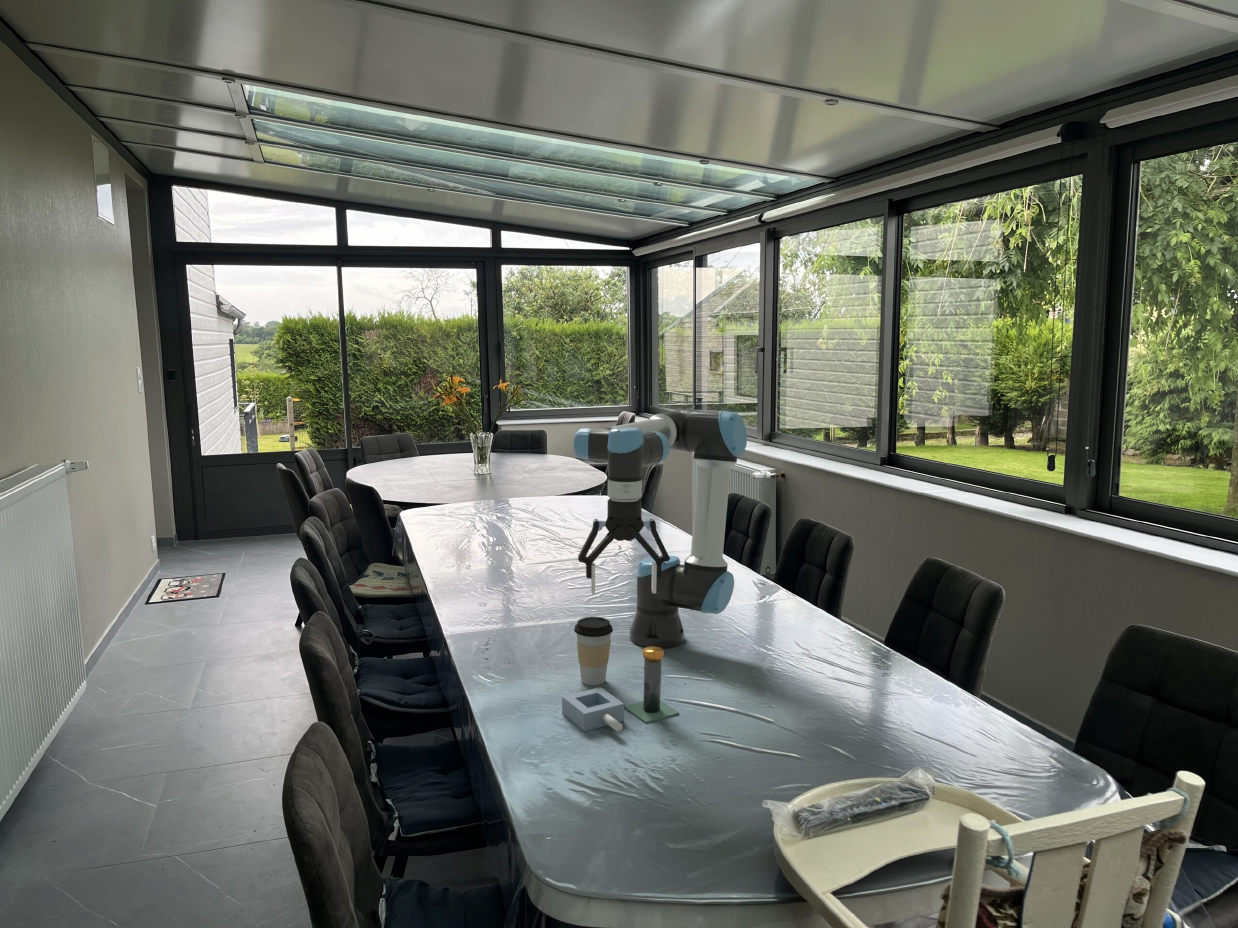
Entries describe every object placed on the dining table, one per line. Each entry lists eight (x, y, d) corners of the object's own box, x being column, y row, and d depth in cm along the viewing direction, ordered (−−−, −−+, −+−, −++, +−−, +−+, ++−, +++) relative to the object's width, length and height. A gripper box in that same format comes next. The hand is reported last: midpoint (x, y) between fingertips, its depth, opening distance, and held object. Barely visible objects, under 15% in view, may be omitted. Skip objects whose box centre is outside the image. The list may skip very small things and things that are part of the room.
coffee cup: (616, 675, 208) (617, 617, 205) (606, 690, 199) (606, 630, 196) (580, 671, 210) (581, 613, 208) (568, 685, 201) (568, 626, 199)
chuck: (562, 713, 187) (562, 696, 186) (600, 703, 192) (600, 686, 191) (598, 743, 173) (598, 724, 173) (638, 731, 178) (639, 714, 178)
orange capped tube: (642, 713, 186) (643, 654, 184) (640, 704, 191) (642, 646, 188) (662, 713, 186) (664, 654, 184) (660, 704, 191) (662, 646, 188)
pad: (623, 707, 190) (623, 705, 190) (656, 699, 195) (656, 697, 195) (645, 723, 182) (645, 721, 182) (679, 713, 187) (679, 712, 187)
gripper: (567, 502, 178) (567, 597, 181) (683, 501, 180) (681, 596, 183) (567, 495, 185) (567, 587, 189) (678, 495, 187) (676, 586, 191)
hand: (623, 592), depth 186 cm, fingers open, 13 cm apart
